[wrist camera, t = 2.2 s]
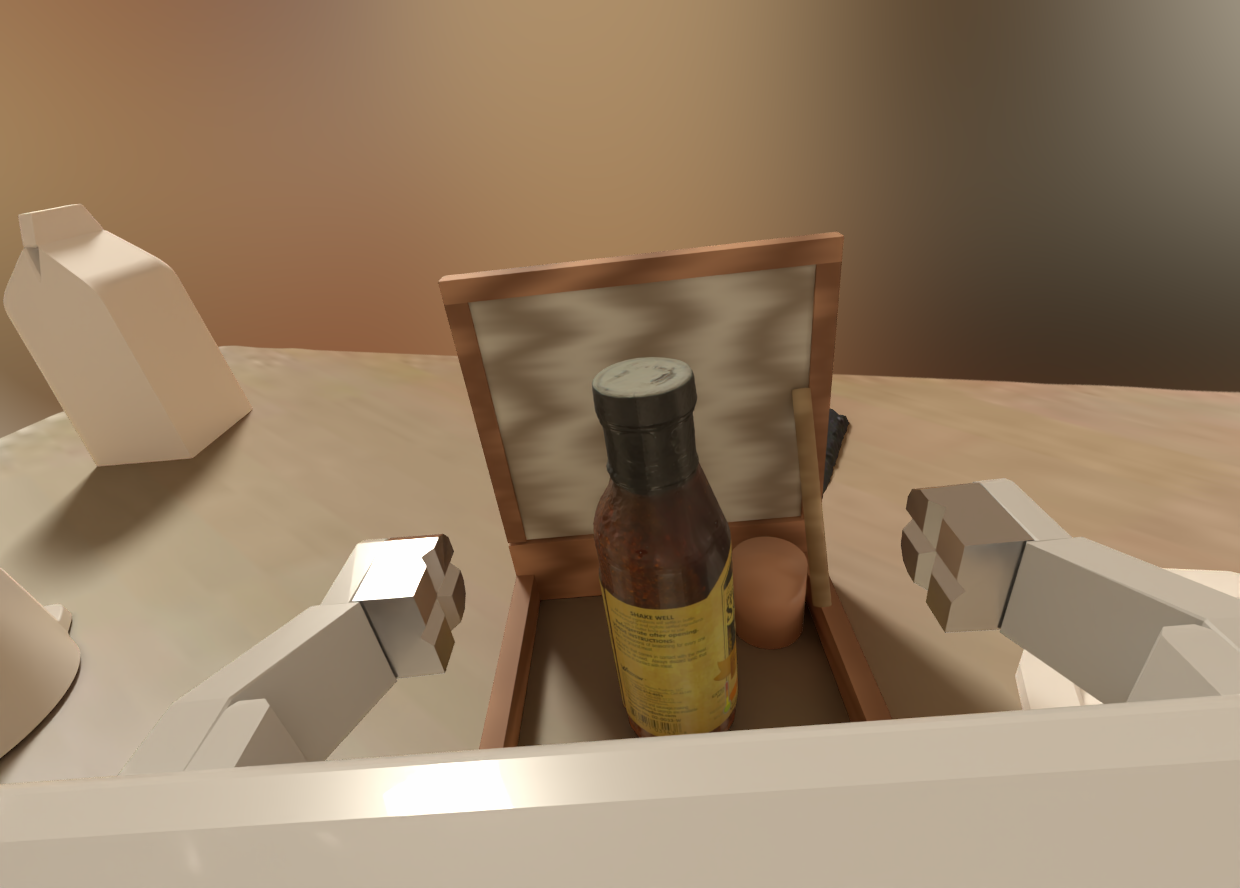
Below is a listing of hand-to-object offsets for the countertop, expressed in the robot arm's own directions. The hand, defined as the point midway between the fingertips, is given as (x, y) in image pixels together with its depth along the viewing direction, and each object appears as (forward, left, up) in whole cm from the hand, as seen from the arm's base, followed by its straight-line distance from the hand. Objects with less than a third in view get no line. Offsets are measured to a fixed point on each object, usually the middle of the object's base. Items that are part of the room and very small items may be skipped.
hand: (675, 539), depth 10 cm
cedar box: (0, +13, -22) cm, 26 cm away
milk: (-57, +53, -22) cm, 81 cm away
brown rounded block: (+6, +18, -22) cm, 29 cm away
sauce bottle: (0, +12, -22) cm, 25 cm away
